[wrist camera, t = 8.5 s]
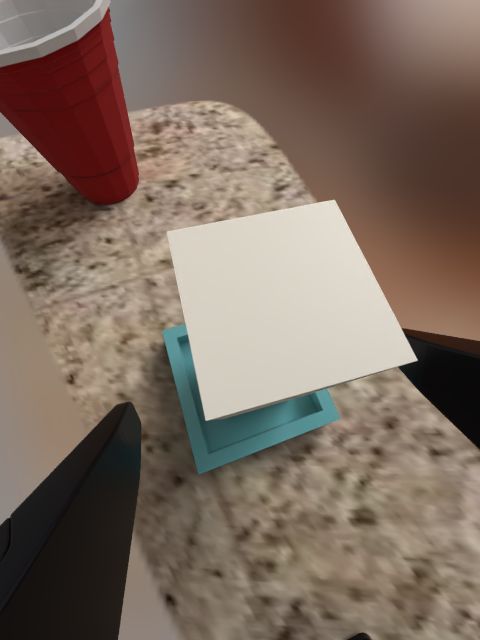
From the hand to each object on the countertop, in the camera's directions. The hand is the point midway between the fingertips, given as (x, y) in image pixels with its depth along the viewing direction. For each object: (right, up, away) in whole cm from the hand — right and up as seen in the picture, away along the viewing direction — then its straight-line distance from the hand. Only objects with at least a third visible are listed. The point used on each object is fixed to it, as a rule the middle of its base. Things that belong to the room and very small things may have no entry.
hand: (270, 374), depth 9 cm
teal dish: (-1, -2, +10) cm, 10 cm away
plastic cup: (-14, +15, +16) cm, 26 cm away
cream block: (0, -2, +9) cm, 10 cm away
